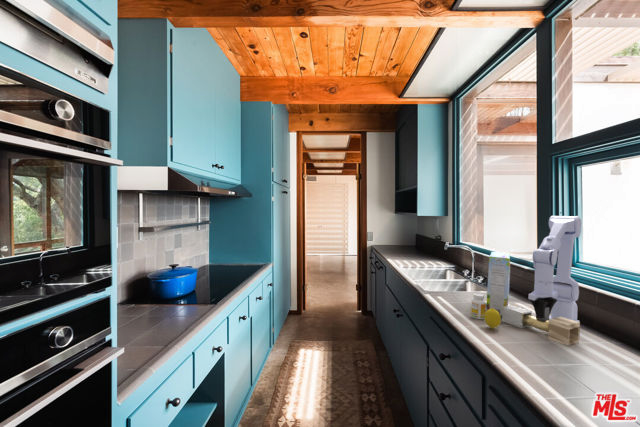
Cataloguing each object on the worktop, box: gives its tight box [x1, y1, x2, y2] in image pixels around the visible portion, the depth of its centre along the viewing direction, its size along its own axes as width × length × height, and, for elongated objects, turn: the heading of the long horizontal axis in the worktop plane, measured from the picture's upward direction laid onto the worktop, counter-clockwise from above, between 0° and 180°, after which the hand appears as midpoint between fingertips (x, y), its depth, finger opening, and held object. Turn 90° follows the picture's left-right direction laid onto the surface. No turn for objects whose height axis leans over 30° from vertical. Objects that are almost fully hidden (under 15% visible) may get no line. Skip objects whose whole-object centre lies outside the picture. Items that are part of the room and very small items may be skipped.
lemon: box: [483, 308, 502, 329], centre depth 120 cm, size 6×6×8 cm
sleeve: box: [501, 305, 533, 329], centre depth 126 cm, size 6×8×6 cm
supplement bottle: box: [470, 293, 487, 320], centre depth 132 cm, size 5×5×10 cm
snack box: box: [485, 251, 511, 317], centre depth 143 cm, size 22×9×26 cm, turn 148°
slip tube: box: [523, 306, 550, 333], centre depth 119 cm, size 4×16×9 cm, turn 24°
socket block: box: [548, 317, 581, 346], centre depth 110 cm, size 7×6×7 cm
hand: (542, 317), depth 117 cm, fingers closed on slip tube, 3 cm apart
